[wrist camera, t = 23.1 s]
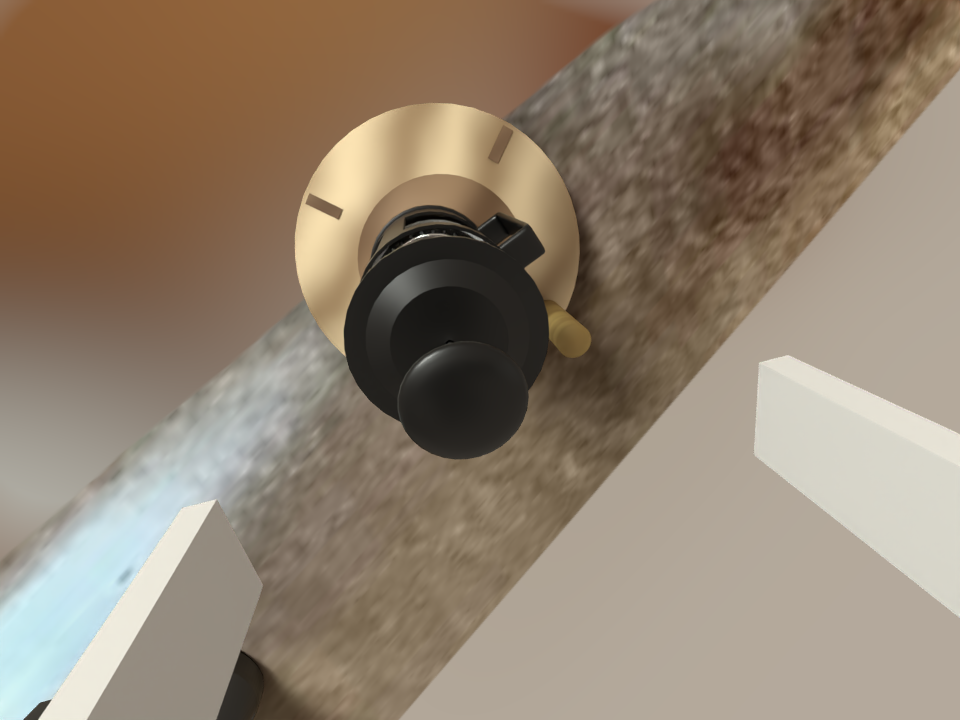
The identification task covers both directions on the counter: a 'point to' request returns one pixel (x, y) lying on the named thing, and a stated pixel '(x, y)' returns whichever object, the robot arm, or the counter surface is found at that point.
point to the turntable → (433, 181)
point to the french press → (449, 328)
